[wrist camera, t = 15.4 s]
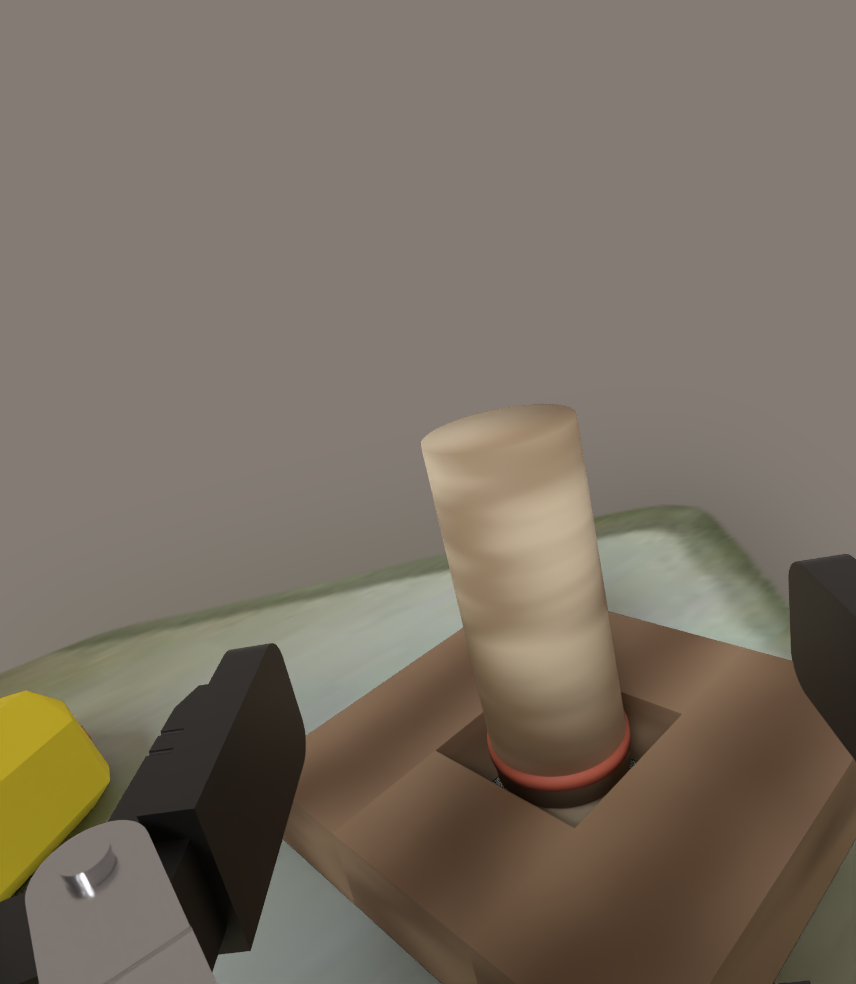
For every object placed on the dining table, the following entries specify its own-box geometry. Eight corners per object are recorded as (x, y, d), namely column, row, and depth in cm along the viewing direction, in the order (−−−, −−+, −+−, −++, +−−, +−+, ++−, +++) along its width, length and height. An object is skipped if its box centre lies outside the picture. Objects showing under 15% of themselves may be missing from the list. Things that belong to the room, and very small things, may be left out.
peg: (476, 816, 26) (385, 450, 21) (558, 740, 29) (492, 402, 24) (587, 884, 22) (504, 461, 18) (667, 789, 25) (613, 403, 21)
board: (278, 834, 27) (255, 770, 26) (531, 640, 36) (521, 587, 35) (659, 1180, 15) (643, 1087, 14) (898, 764, 24) (897, 689, 23)
